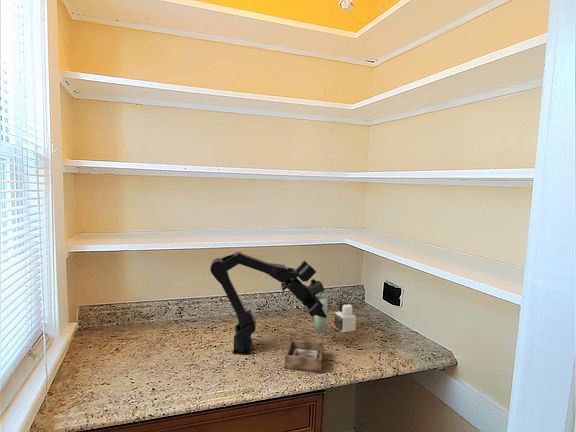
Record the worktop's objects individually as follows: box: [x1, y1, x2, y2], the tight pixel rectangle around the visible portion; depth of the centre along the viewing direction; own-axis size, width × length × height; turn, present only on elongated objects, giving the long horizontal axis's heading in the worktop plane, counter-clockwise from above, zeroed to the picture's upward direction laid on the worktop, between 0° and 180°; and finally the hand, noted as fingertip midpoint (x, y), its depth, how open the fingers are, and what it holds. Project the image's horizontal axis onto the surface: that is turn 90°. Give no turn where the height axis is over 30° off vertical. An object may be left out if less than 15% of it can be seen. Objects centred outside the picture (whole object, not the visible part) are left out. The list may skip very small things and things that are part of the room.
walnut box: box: [284, 339, 325, 374], centre depth 131 cm, size 13×13×5 cm
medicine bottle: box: [334, 302, 357, 334], centre depth 161 cm, size 7×7×12 cm
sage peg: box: [313, 294, 329, 334], centre depth 144 cm, size 5×5×14 cm
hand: (324, 314), depth 144 cm, fingers closed on sage peg, 5 cm apart
